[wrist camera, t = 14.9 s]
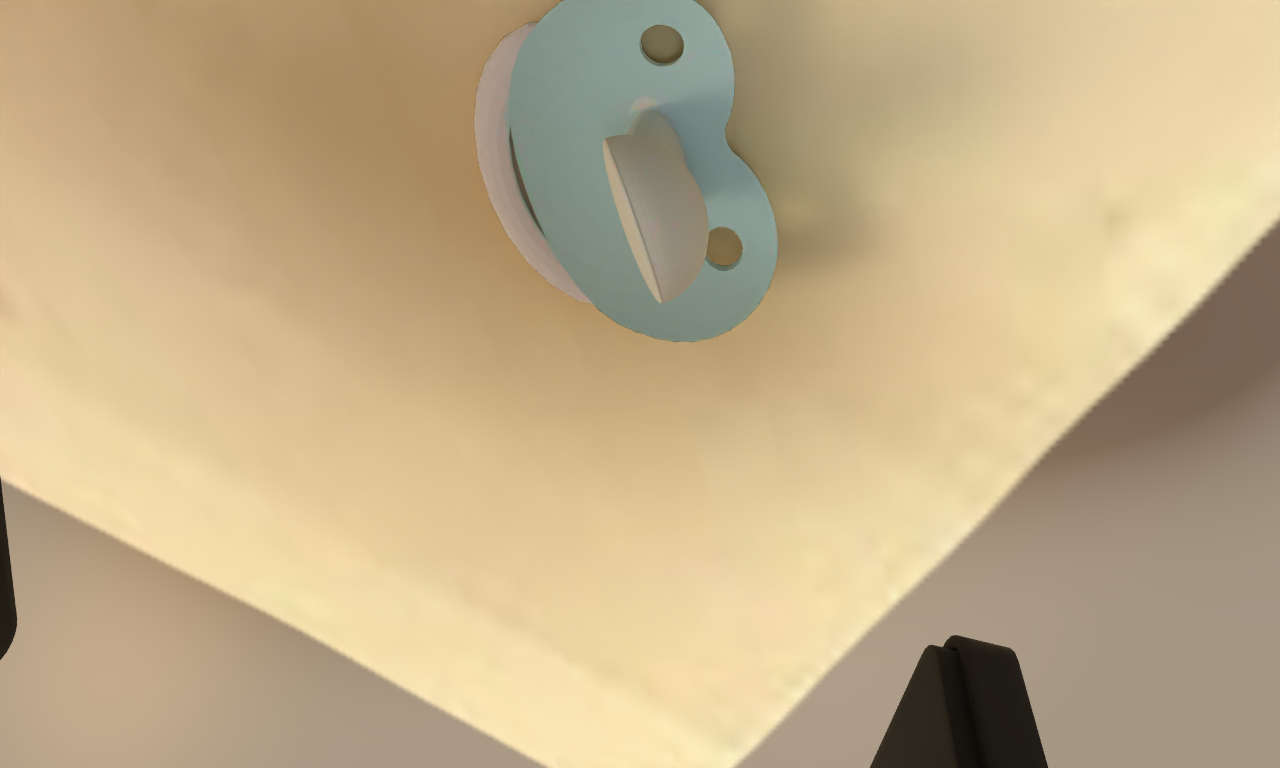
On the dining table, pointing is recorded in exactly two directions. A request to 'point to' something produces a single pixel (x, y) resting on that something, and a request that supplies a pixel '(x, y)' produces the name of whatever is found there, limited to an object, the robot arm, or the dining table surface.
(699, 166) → the pacifier
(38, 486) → the dining table surface
